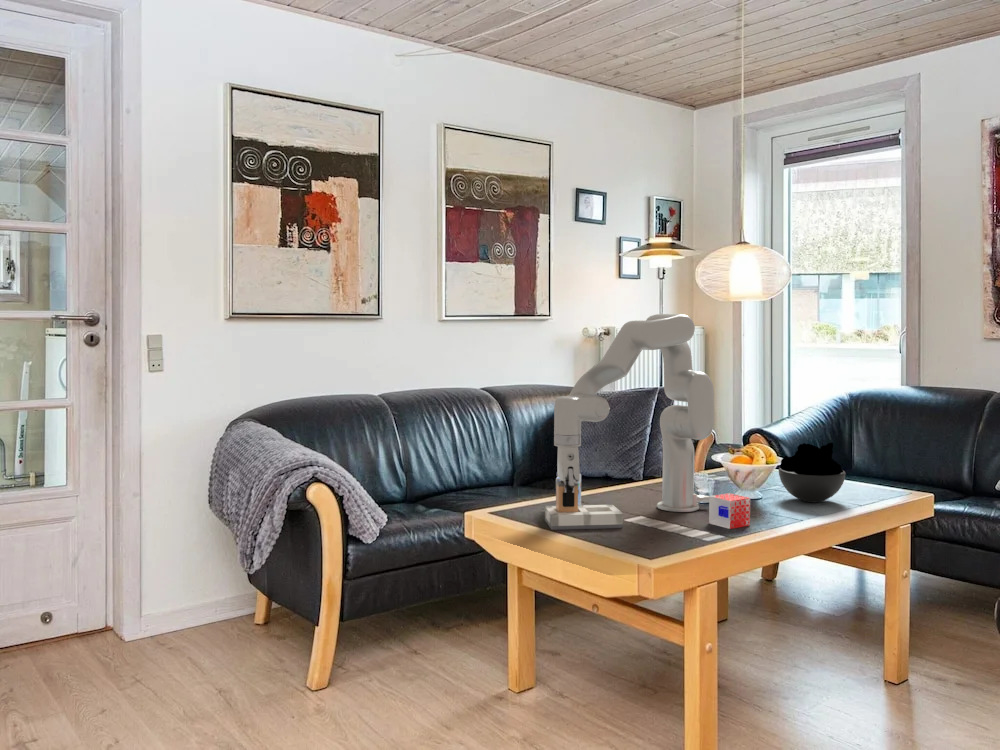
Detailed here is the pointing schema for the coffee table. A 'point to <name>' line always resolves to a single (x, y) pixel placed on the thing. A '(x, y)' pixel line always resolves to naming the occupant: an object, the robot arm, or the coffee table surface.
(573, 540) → the coffee table surface
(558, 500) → the tan box
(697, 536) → the coffee table surface
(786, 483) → the bowl of black rocks
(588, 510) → the socket plate
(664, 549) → the coffee table surface
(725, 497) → the red and white box
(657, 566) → the coffee table surface
